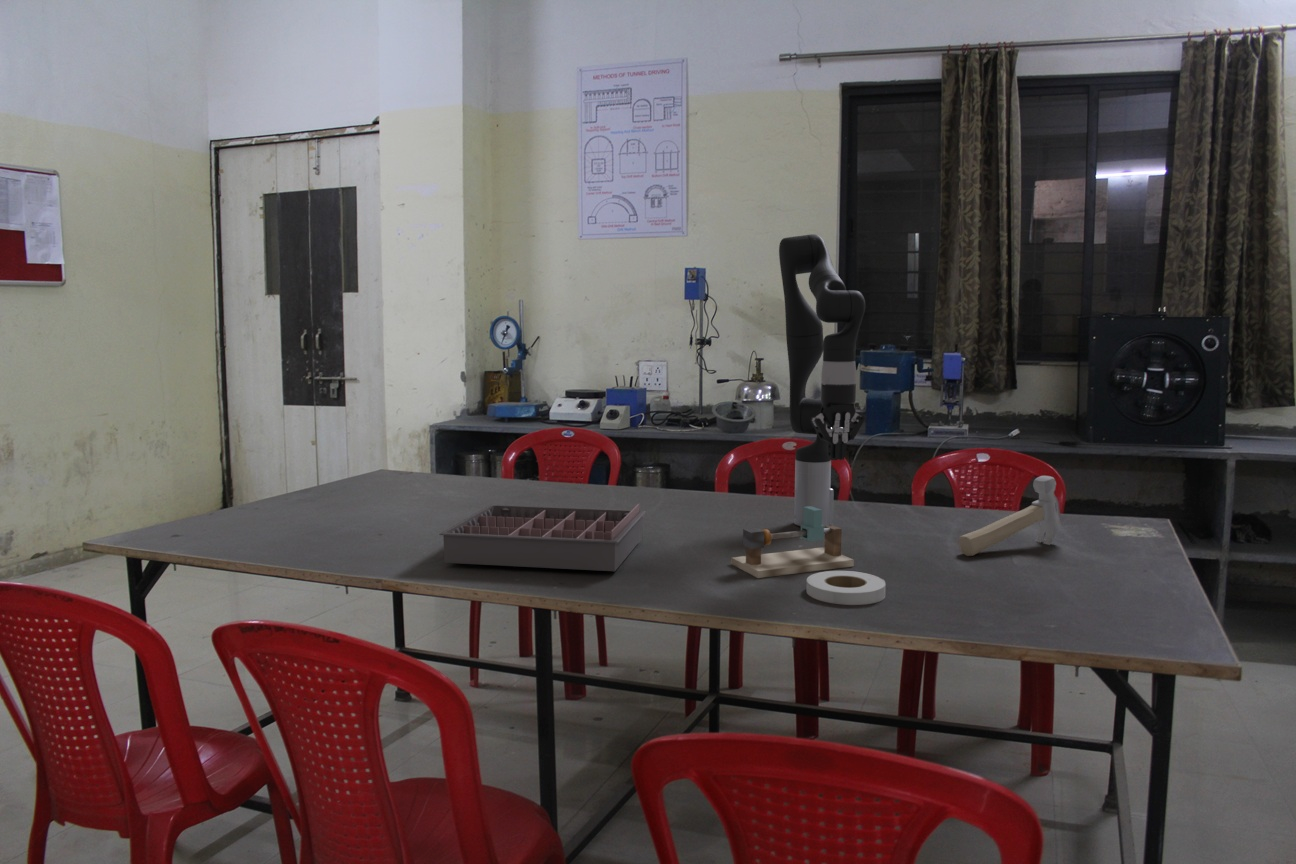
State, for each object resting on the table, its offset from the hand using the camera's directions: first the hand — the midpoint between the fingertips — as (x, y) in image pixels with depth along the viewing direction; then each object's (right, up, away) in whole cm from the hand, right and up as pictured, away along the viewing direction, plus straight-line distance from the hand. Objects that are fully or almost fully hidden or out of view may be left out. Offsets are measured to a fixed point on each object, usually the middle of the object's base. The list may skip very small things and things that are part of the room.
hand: (836, 459), depth 208 cm
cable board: (-10, -23, -1) cm, 26 cm away
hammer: (+44, -22, +13) cm, 51 cm away
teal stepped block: (-6, -18, 0) cm, 19 cm away
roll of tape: (-3, -27, -22) cm, 34 cm away
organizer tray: (-65, -23, +8) cm, 69 cm away
